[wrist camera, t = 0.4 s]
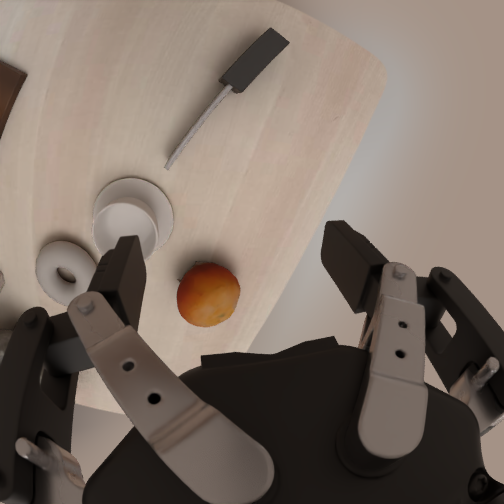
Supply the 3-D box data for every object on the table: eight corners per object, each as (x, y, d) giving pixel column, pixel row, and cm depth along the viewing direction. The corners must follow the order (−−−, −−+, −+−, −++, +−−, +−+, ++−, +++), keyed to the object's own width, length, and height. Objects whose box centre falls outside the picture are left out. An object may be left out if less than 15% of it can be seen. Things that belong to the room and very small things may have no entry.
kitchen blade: (261, 35, 22) (270, 26, 18) (278, 49, 23) (290, 42, 19) (160, 155, 27) (155, 163, 24) (178, 167, 28) (175, 177, 25)
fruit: (182, 243, 31) (217, 295, 27) (227, 250, 38) (260, 294, 34) (153, 290, 34) (180, 341, 30) (196, 290, 40) (225, 333, 36)
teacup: (106, 165, 26) (91, 177, 22) (186, 194, 30) (184, 210, 26) (87, 239, 30) (75, 260, 26) (158, 264, 34) (154, 287, 30)
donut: (50, 222, 28) (36, 277, 31) (38, 235, 25) (27, 291, 28) (112, 258, 32) (90, 307, 35) (106, 273, 29) (85, 323, 32)
